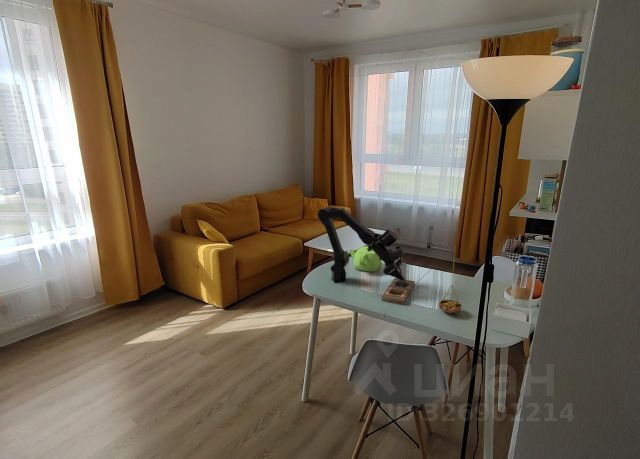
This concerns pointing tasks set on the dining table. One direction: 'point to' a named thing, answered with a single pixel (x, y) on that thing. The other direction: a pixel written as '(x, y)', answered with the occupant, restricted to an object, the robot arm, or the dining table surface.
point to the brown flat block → (398, 292)
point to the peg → (402, 269)
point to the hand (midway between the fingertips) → (404, 276)
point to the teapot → (366, 259)
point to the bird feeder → (450, 301)
